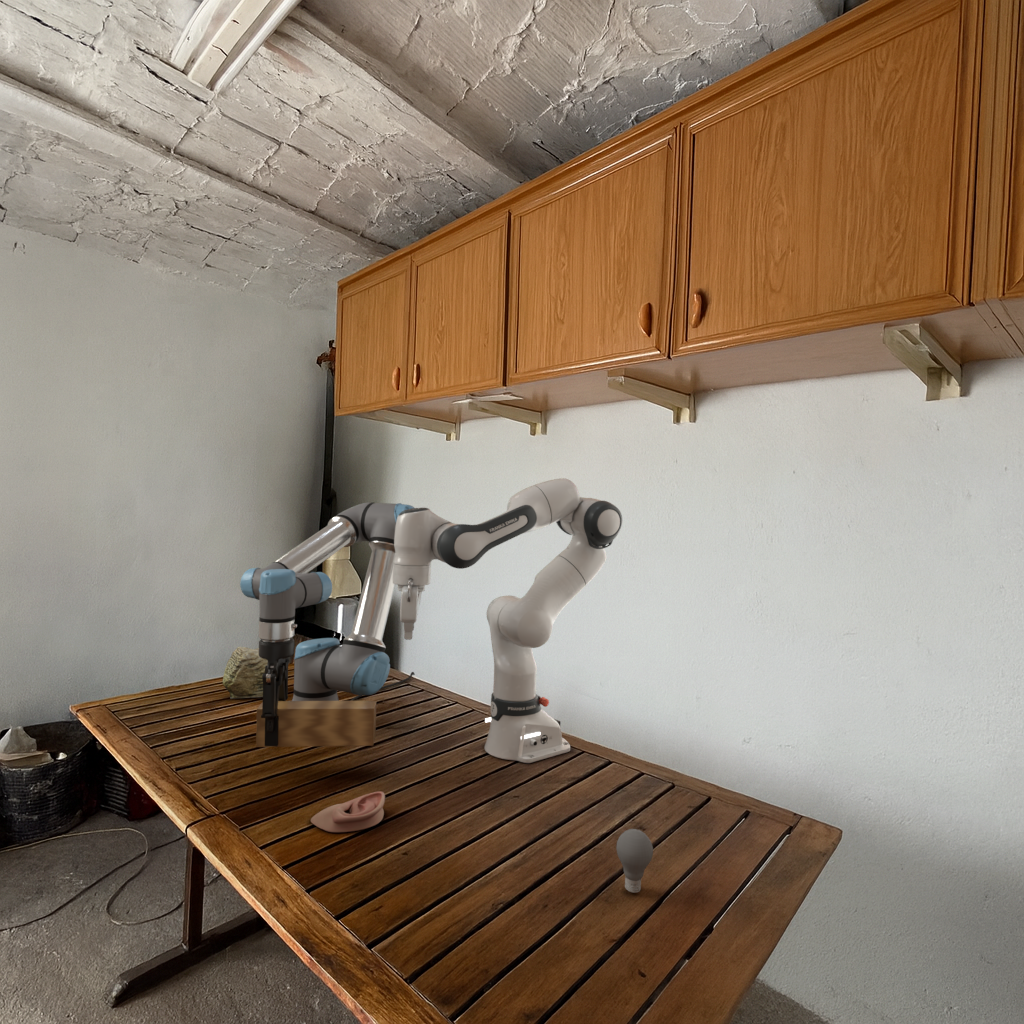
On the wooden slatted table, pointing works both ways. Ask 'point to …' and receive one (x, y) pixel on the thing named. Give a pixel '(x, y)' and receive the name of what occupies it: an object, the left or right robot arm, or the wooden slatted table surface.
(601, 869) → the wooden slatted table surface
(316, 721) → the bar
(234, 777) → the wooden slatted table surface
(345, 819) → the anatomical model
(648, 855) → the light bulb
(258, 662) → the fossil
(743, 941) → the wooden slatted table surface
